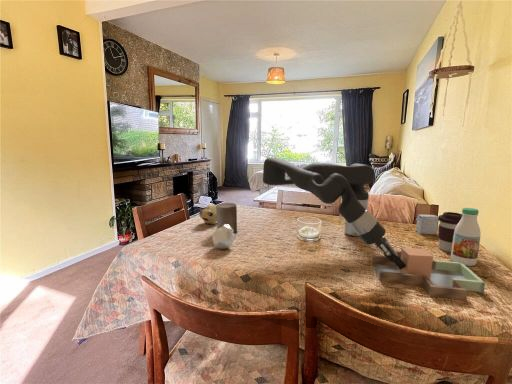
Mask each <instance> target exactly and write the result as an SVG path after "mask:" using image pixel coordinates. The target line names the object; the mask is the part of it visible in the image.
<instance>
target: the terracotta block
mask: <svg viewBox="0 0 512 384" xmlns="http://www.w3.org/2000/svg"><path fill="white" fill-rule="evenodd" d="M400 251H401V260H402V261H403V262H404V263H405V265H406V267H404V268H403V269H399V271H400V272H401V273H405V274H415V275H425V276H427V278H428V279H429V280H430V277H431V269H432V261H433V260H434V259H433V258H434V255H432V254H431V253H430V252H428V250H426V249H425V248H410V247H402V248H401V250H400Z"/></svg>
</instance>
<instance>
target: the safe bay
mask: <svg viewBox="0 0 512 384" xmlns="http://www.w3.org/2000/svg"><path fill="white" fill-rule="evenodd" d="M435 261H436V267H435V270H446V271H457V272H460V273H461V274H462V275H463V276H464V277H465V278H466V279H467V280H466V279H456V278H452V283H451V287H453V280H458V281H459V282H460V283H461V284H462V285H463V286H464V287H465V288H466V289H467V290H469V291H468V292H476V291H478V292H483V294H484V292H485V286H486V282H485V281H484V280H482V278H480V277H479V276H478V275H477V274H475V272H473V270H471V269H470V268H469V267H468V266H466V265H464V264H463V263H461V262H453V261H450V260H449V261H448V260H437V259H435Z"/></svg>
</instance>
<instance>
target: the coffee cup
mask: <svg viewBox="0 0 512 384" xmlns="http://www.w3.org/2000/svg"><path fill="white" fill-rule="evenodd" d="M437 217H438V220H439V223H438V234H437V235H438V248H439V250H441V251H444V252H447V253H448V252H449V253H451V251H452V243H453V236H454V231H455V228H456V226H457V224H458V223H459V221H460V220H461V218H462V213H459V212H454V211H453V212H452V211H445V212H443V214H440V215H438V216H437Z"/></svg>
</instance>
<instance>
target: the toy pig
mask: <svg viewBox="0 0 512 384" xmlns="http://www.w3.org/2000/svg"><path fill="white" fill-rule="evenodd" d="M216 205H217V204H214V203H210V204H208V205H207V206H206V207H205V208H204V209H202V210H200V211H199V212H198V214H199V217H200V219H202V221H203V223H204V222H205V223H204V224H212V225H213V224H214V225H216V223H217V209H216Z"/></svg>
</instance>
